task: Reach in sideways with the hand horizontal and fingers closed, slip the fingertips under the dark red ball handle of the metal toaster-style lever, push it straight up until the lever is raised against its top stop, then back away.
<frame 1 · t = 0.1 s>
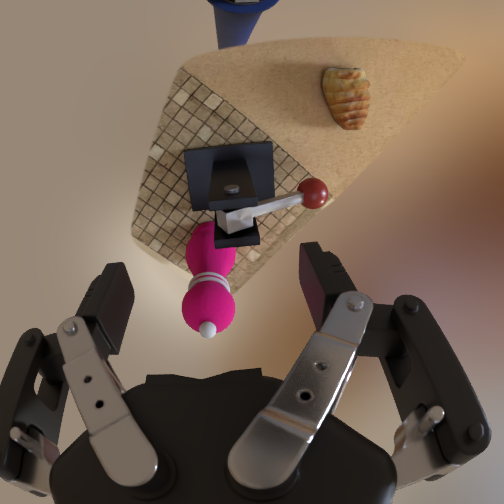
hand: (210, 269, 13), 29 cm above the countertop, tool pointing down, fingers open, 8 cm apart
lever: (278, 202, 30), point 12 cm above the countertop, hinge at -25.0°
pepper mill: (211, 238, 45), on the countertop
pastry: (344, 93, 35), on the countertop
bracket: (230, 175, 40), on the countertop
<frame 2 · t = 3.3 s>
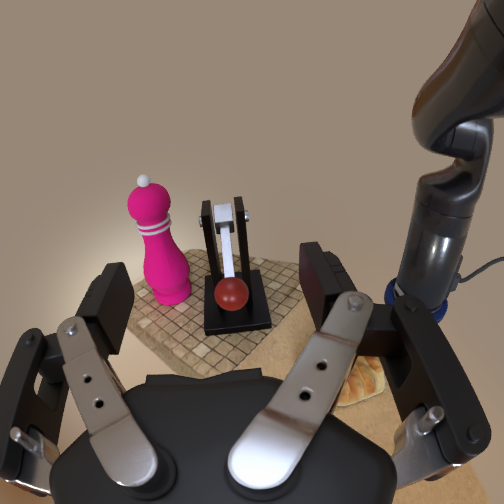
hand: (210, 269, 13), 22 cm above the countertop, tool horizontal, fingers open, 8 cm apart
lever: (227, 254, 33), point 12 cm above the countertop, hinge at -25.0°
pepper mill: (173, 293, 46), on the countertop
pastry: (345, 386, 30), on the countertop
bracket: (235, 302, 43), on the countertop
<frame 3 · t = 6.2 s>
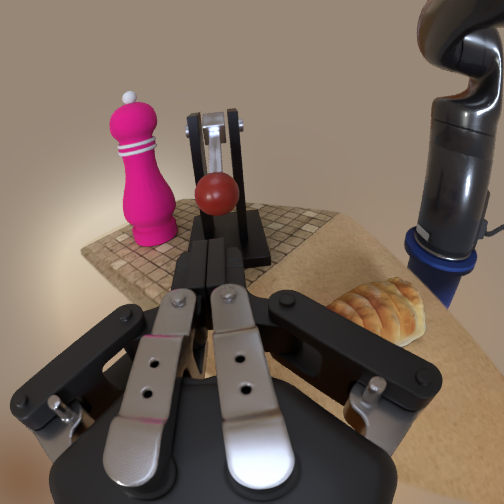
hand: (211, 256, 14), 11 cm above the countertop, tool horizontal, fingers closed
lever: (215, 157, 25), point 12 cm above the countertop, hinge at -25.0°
pepper mill: (156, 236, 39), on the countertop
pastry: (371, 331, 22), on the countertop
bracket: (227, 241, 36), on the countertop
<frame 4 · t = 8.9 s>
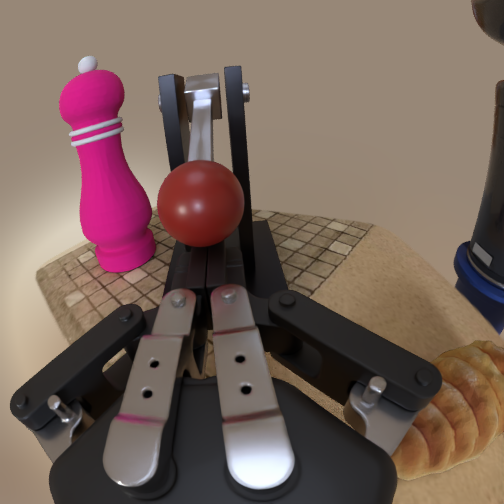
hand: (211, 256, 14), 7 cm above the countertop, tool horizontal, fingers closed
lever: (201, 137, 14), point 12 cm above the countertop, hinge at -25.0°, touching gripper
pepper mill: (128, 256, 28), on the countertop
pastry: (445, 422, 11), on the countertop
bracket: (224, 268, 25), on the countertop
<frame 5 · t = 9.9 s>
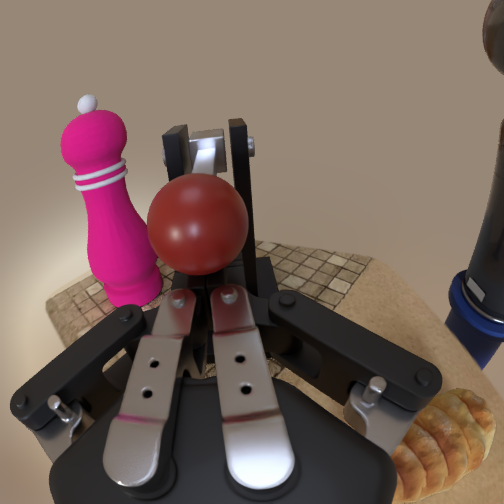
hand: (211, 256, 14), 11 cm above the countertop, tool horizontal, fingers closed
lever: (204, 177, 14), point 14 cm above the countertop, hinge at -2.9°, touching gripper
pepper mill: (136, 291, 29), on the countertop
pastry: (424, 457, 12), on the countertop
bracket: (229, 308, 26), on the countertop
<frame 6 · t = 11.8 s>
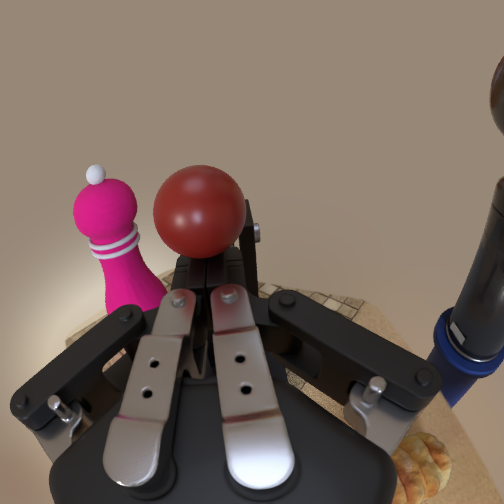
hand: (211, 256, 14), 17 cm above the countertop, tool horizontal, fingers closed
lever: (211, 227, 16), point 17 cm above the countertop, hinge at 35.4°, touching gripper
pepper mill: (150, 334, 32), on the countertop
pastry: (393, 483, 15), on the countertop
bracket: (236, 354, 29), on the countertop
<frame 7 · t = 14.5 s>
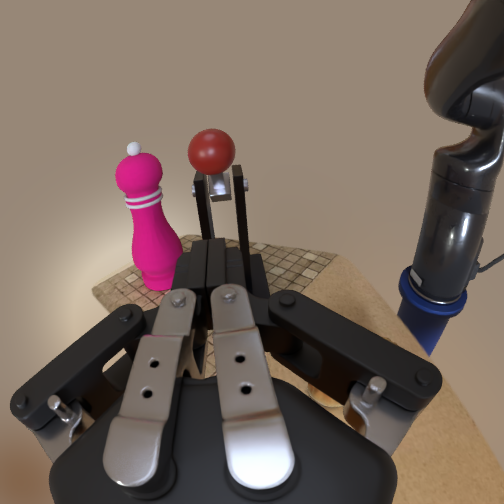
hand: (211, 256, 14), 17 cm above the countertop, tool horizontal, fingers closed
lever: (216, 172, 26), point 17 cm above the countertop, hinge at 35.3°
pepper mill: (164, 278, 41), on the countertop
pastry: (360, 383, 24), on the countertop
bracket: (232, 288, 38), on the countertop
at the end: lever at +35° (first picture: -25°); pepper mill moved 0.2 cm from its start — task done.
